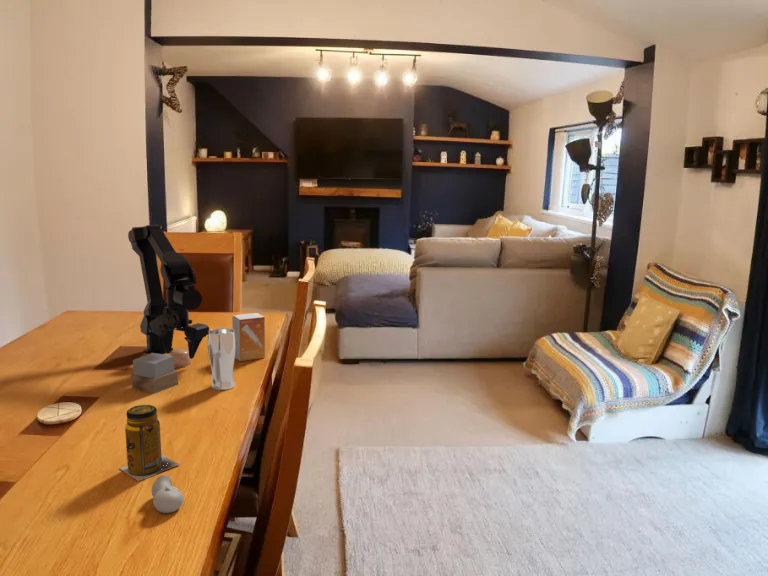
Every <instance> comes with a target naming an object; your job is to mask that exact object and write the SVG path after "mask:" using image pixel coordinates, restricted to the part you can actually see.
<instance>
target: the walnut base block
mask: <svg viewBox="0 0 768 576" xmlns="http://www.w3.org/2000/svg"><path fill="white" fill-rule="evenodd" d="M178 372H179V371H178V370H174V371H173V372H170V373H168V374H166V375H163V376H161V377H159V378H156V379H153V378H147V377H142V376H137V375H134V373H132V374H130V375H131V379H130V380H131V389H133V388H134V390H138V391H141V392H145V393H150V394H152V393H153V394H152V395H155V394H157V393H160V392H163V391H165V390H168V389H170V388H173V387H175V385H176V386H178V385H179V376H178V375H179V374H178ZM162 390H163V391H162Z"/></svg>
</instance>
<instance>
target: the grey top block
mask: <svg viewBox="0 0 768 576" xmlns="http://www.w3.org/2000/svg"><path fill="white" fill-rule="evenodd" d="M132 367H133V369H132V370H133V374H134V375H137V376H142V377H147V378H153V379H156V378H159V377H161V376H163V375H166V374H168V373H170V372H173V371H175V368H174V356H170V354H163V353H161V354H157V353H148V354H146V355H144V356H140V357H138V358H134V359H133V360H132Z"/></svg>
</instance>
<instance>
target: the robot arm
mask: <svg viewBox="0 0 768 576" xmlns="http://www.w3.org/2000/svg"><path fill="white" fill-rule="evenodd" d="M127 236H128V237H127V238H128V241H129V243H130V245H131V249H132V250H133V251H134V252H135V254H136V255H138V256H137V257H139V262H140V268H141V273H142V278H143V279H142V280H143V283H144V290H145V296H146V301H147V303H146V305H145V307H144V309H143V317H142V319H141V322H140V325H139V327H140V333H142V334H144V335H145V336H146V348H145V349H143V351H142V352H144V353H148V354H151V353H157V354H163V353H166V355H170V352H171V351H173V350H174V348H173V347H172V346H173V341H174V334H175V331H180V332H183V333H184V336H185V337H184V340H185V341H186V342H187V350H189V357H190V360H192V359H194V358H195V356H196V353H197V350H198V348H199V346H200V345H201V342H202V341H203V339H204V338H206V337H207V336H208V331H210V326H209V325H207V324H205V323H204V324H203V323H199V322H197V323H195V324H193V319H190V317H189V315H190V314H189V311H193V310H197V309H198V308H199V307H200V306H201V305H202V302H203V295H202V294H201V292H200V291H199V290H197V289H195V288H196V287H195V286H196V284H197V276H196V274H195V272H194V270H193V267H192V265H191V264H190V262H189V261H188V260H187V259H186V257H185V256H184V255H183V254H179V253H178V252H177V251H176V250H175V248H174V247H173V245H172V243H171V242H170V241H169V239H168V237H167V235H166V234H165V232H164V227H163V226H162V225H161V224H146V225H145V226H132V228H131V229H130V230H129V231H128V234H127ZM157 257H158V259H159V261H160V269H159V267H158V266H159V265H158V261H157ZM159 270H160V272H159ZM160 275H161V277H162V279H163V281H164V286H165V289H166V292H165V293H166V300H165V298H164V295H163V289H162V283H161V278H160Z"/></svg>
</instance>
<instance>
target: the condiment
mask: <svg viewBox="0 0 768 576" xmlns="http://www.w3.org/2000/svg"><path fill="white" fill-rule="evenodd" d="M157 412H158V409H157V407H155V406H154V405H151V404H138V405H134V406H132V407H130V408H129V409H127V411H126V424H125V427H124V431H125V442H126V444H125V445H126V447H125V448H126V460H127V461H126V463H127V465H125V466H123V467H122V466H121V467H119V469H120V470H121V471H122V472H124V473H125V474H127V475H128V476H130V477H131V478H133V479H135V480H136V481H137V482H139V481H142V480H145V479H147V478H150V477H153V476H155V475H158V474H160V473H162V472H164V471H167V470H169V469H172V468H174V467H176V466H180V463H179V462H176V461H175V460H172V459H170V458H169V457H168V456H166V455H164V454H163V453H162V440H161V423H160V420H159V419H158V413H157ZM167 463H168V464H167ZM163 465H164V466H163ZM166 465H167V466H166ZM161 469H162V470H161Z"/></svg>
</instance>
